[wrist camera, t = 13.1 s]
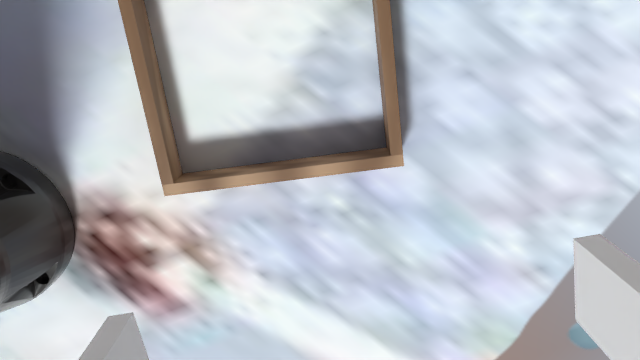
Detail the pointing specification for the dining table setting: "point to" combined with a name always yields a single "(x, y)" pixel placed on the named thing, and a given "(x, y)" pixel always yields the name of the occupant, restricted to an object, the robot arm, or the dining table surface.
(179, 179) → the frame
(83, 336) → the dining table surface
